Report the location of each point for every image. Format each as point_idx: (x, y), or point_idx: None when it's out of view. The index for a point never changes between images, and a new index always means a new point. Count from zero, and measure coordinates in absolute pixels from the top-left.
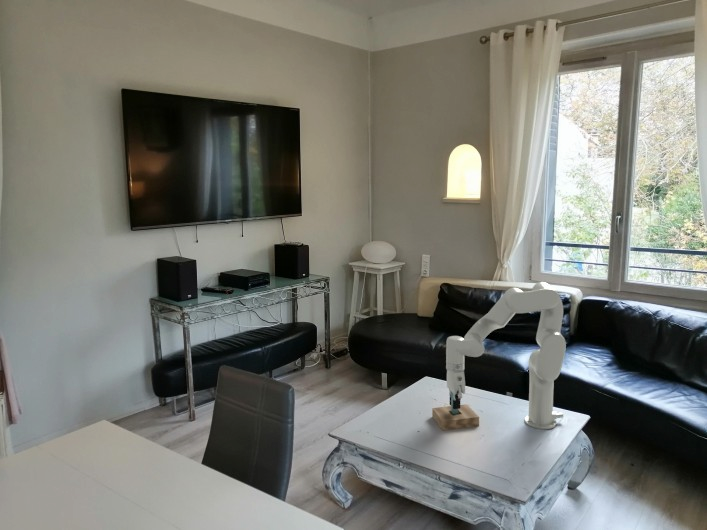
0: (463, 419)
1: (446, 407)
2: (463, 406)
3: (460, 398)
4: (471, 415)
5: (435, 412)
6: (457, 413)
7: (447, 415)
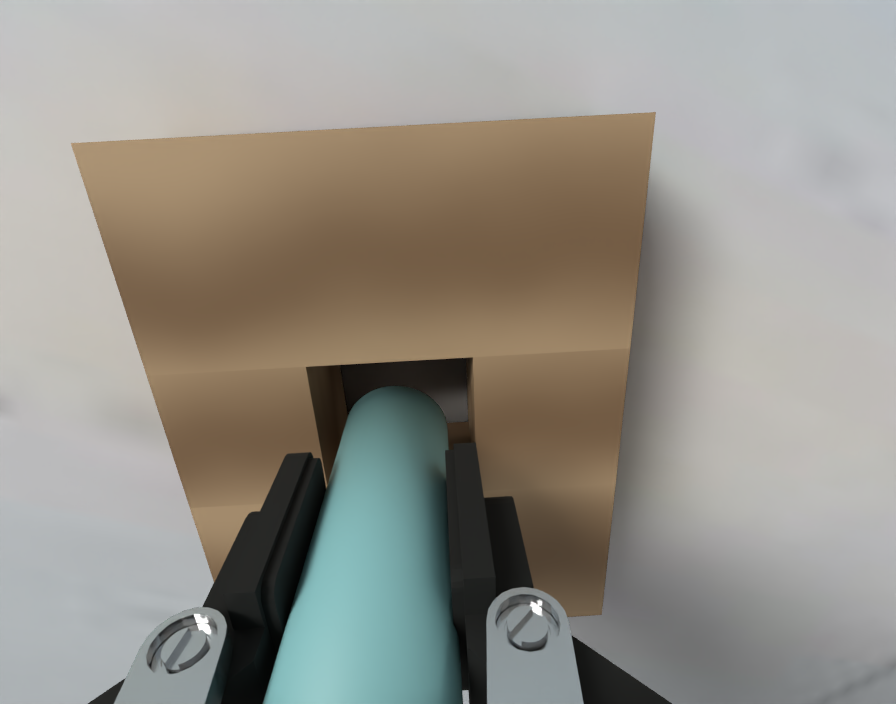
0: (623, 383)
1: (215, 494)
2: (179, 243)
3: (664, 702)
4: (558, 231)
5: None
6: (441, 417)
7: None
